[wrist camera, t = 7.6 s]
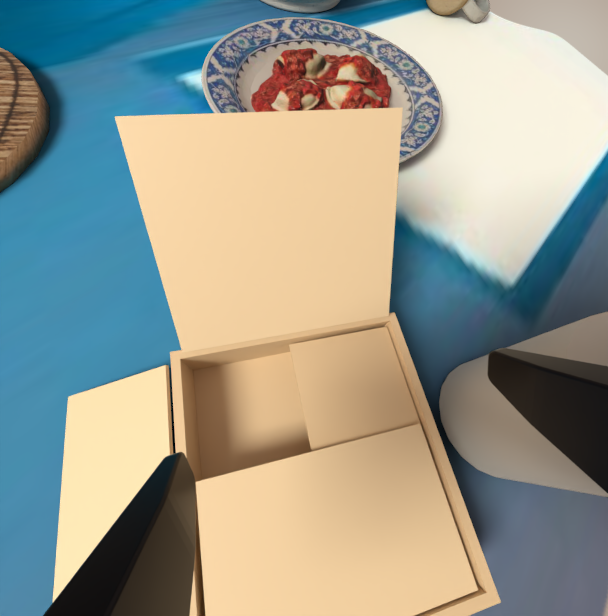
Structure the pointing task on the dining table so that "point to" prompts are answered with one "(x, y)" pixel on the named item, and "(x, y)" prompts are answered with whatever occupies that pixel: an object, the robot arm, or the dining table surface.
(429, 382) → the dining table surface
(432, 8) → the ceramic mug
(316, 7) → the vase
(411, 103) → the ceramic plate
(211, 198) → the flap
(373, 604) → the carton
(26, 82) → the trivet
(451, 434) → the can
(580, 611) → the dining table surface
